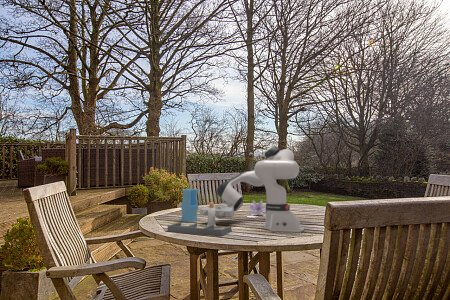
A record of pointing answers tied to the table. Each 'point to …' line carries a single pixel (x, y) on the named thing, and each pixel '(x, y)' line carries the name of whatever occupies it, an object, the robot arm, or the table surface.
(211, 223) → the orange capped bottle
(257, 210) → the water lily
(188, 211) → the vase
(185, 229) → the cable organizer
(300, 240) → the table surface
